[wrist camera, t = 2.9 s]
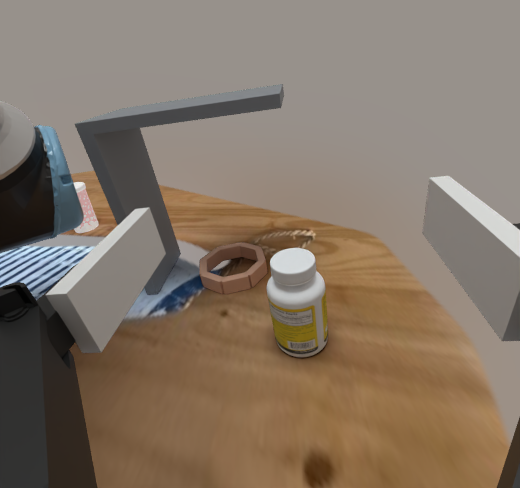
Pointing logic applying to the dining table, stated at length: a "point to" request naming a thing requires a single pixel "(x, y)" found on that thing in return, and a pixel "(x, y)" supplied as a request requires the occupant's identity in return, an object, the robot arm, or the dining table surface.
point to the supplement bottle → (297, 303)
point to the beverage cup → (85, 210)
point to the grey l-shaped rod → (138, 162)
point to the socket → (237, 280)
